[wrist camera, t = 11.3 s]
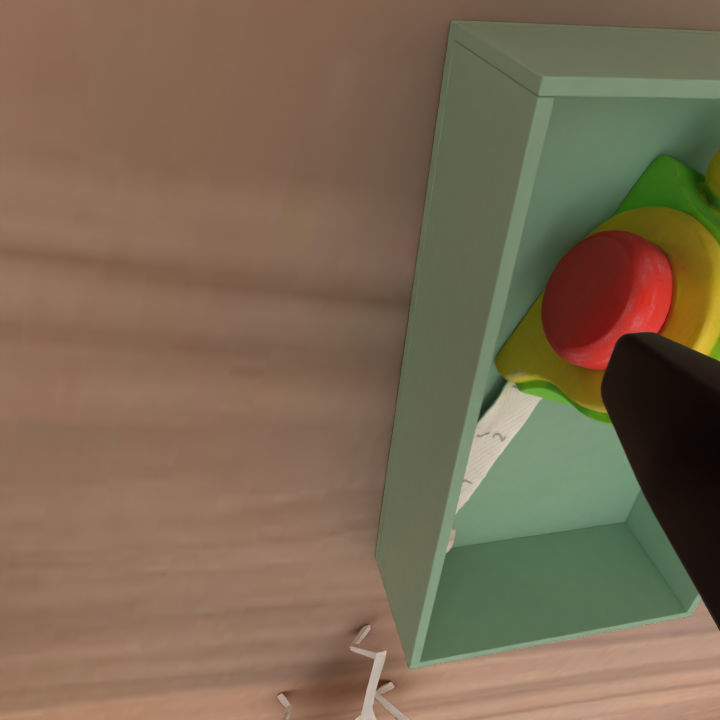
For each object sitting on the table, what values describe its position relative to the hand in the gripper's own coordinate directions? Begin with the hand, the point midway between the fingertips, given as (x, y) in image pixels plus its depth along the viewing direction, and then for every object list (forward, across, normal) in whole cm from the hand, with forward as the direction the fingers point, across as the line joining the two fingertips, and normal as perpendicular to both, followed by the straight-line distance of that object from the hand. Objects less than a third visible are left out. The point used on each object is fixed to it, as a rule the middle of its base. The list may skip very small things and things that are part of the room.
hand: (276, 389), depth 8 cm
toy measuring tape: (+12, -11, +9) cm, 19 cm away
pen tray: (+12, -12, +9) cm, 20 cm away
